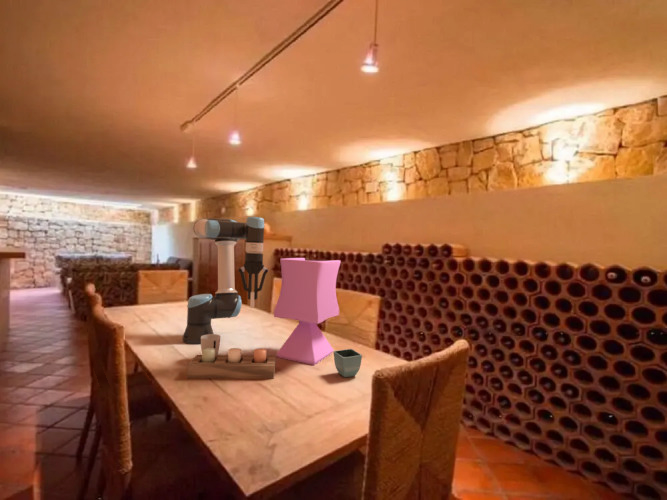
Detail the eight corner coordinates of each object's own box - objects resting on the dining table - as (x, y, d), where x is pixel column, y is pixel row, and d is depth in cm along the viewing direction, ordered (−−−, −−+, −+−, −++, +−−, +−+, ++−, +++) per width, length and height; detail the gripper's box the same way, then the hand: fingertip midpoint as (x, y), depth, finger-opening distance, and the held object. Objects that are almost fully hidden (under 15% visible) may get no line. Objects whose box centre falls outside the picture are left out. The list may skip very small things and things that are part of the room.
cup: (213, 363, 142) (214, 340, 142) (195, 361, 144) (196, 338, 144) (223, 357, 150) (224, 335, 150) (206, 355, 152) (207, 333, 152)
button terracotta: (254, 360, 137) (255, 348, 137) (266, 360, 137) (267, 348, 137) (252, 364, 132) (253, 352, 132) (265, 364, 133) (265, 352, 133)
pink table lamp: (337, 352, 164) (341, 260, 163) (315, 366, 144) (320, 261, 143) (297, 345, 174) (301, 257, 173) (272, 357, 153) (276, 258, 153)
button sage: (203, 360, 135) (204, 347, 135) (215, 360, 135) (216, 347, 135) (200, 364, 130) (200, 351, 130) (212, 364, 130) (213, 351, 130)
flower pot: (342, 380, 131) (343, 357, 130) (332, 372, 138) (333, 350, 138) (361, 377, 135) (362, 355, 134) (350, 369, 142) (351, 348, 142)
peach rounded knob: (229, 360, 136) (229, 348, 136) (241, 360, 136) (241, 348, 136) (226, 364, 131) (227, 351, 131) (239, 364, 132) (239, 351, 131)
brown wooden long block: (196, 366, 138) (197, 354, 138) (275, 367, 141) (276, 355, 141) (186, 378, 126) (187, 365, 126) (273, 378, 129) (274, 365, 129)
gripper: (237, 252, 142) (235, 308, 142) (268, 253, 143) (266, 308, 144) (240, 252, 150) (238, 305, 150) (270, 253, 151) (268, 305, 151)
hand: (252, 306), depth 147 cm, fingers closed
